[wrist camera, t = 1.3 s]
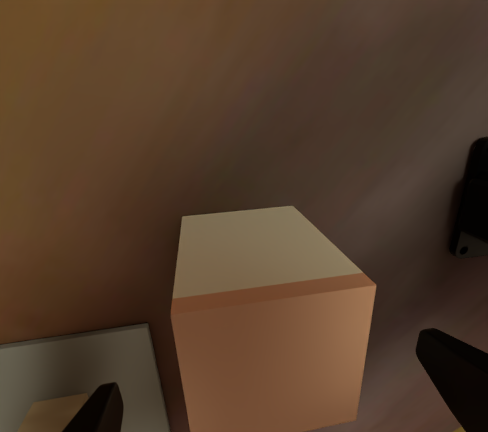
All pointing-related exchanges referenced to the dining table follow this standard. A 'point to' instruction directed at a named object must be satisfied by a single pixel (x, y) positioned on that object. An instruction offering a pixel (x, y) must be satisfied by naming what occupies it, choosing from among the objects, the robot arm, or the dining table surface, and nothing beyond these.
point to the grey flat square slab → (80, 379)
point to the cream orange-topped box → (268, 323)
